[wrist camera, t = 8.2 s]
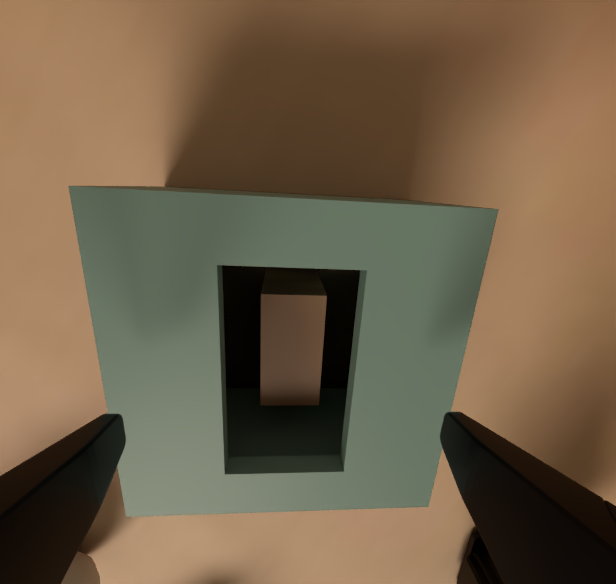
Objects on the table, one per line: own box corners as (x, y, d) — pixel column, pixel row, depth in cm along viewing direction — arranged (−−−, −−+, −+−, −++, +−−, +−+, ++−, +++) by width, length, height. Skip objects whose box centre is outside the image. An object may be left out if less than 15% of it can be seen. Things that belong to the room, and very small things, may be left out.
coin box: (408, 200, 16) (498, 209, 9) (379, 399, 20) (428, 506, 13) (164, 186, 15) (68, 185, 8) (182, 399, 19) (126, 517, 12)
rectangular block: (314, 265, 17) (326, 295, 12) (309, 348, 18) (318, 405, 14) (267, 263, 16) (261, 294, 12) (266, 348, 18) (260, 405, 13)
